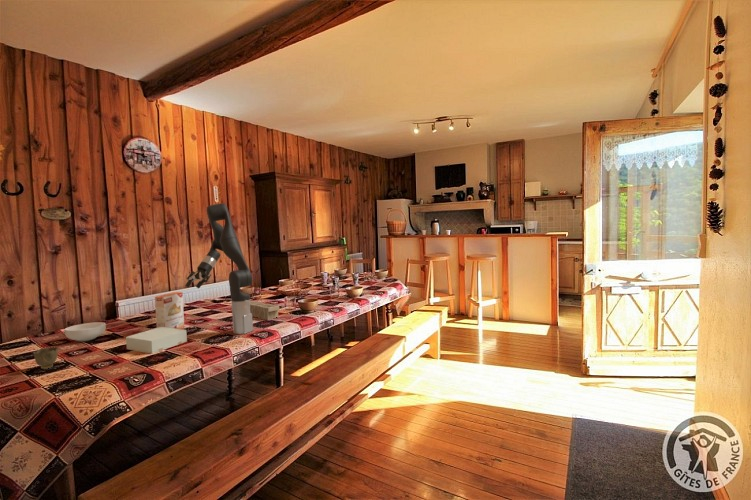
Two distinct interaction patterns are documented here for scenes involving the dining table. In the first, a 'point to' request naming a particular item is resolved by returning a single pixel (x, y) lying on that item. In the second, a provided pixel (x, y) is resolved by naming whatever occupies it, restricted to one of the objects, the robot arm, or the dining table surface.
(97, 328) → the cereal bowl
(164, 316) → the cracker box
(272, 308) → the block tower
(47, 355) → the cup
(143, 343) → the pale square block
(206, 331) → the dining table surface
